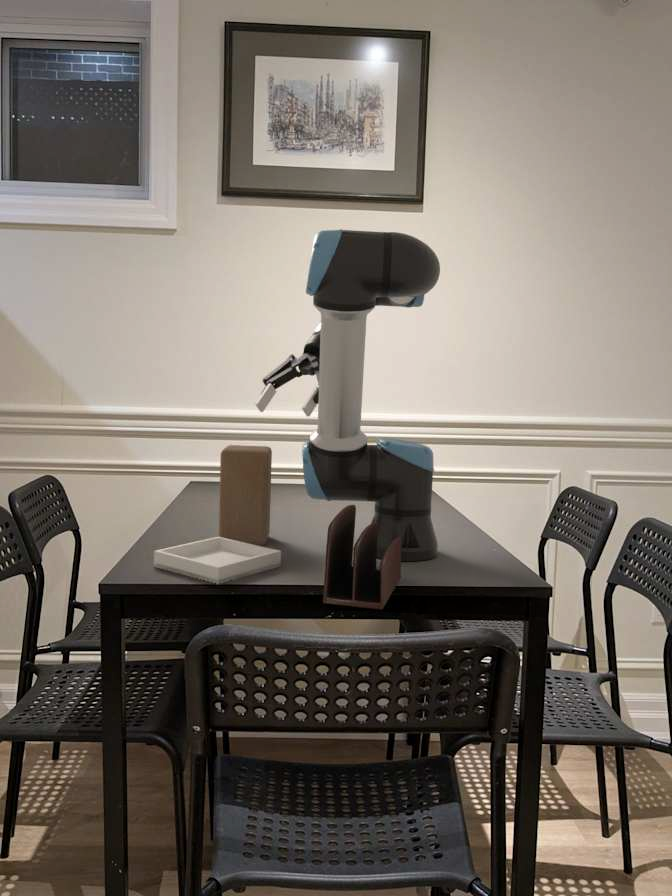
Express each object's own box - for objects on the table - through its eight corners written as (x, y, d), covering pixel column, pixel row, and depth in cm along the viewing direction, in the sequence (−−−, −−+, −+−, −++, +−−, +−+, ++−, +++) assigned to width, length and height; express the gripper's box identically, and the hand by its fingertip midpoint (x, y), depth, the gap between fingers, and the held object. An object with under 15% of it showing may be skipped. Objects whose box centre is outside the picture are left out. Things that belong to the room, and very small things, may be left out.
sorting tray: (280, 566, 151) (281, 550, 150) (217, 584, 137) (218, 567, 137) (218, 551, 160) (218, 536, 160) (153, 566, 147) (153, 550, 147)
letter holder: (322, 604, 129) (325, 519, 127) (348, 573, 148) (351, 499, 147) (382, 611, 127) (386, 524, 125) (401, 578, 146) (404, 503, 144)
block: (266, 546, 166) (268, 451, 163) (218, 545, 166) (220, 449, 163) (269, 536, 176) (272, 446, 173) (224, 534, 175) (226, 444, 173)
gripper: (374, 357, 183) (333, 425, 173) (290, 354, 197) (248, 417, 187) (362, 333, 178) (319, 402, 168) (277, 332, 193) (232, 395, 182)
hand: (281, 410), depth 177 cm, fingers open, 13 cm apart
